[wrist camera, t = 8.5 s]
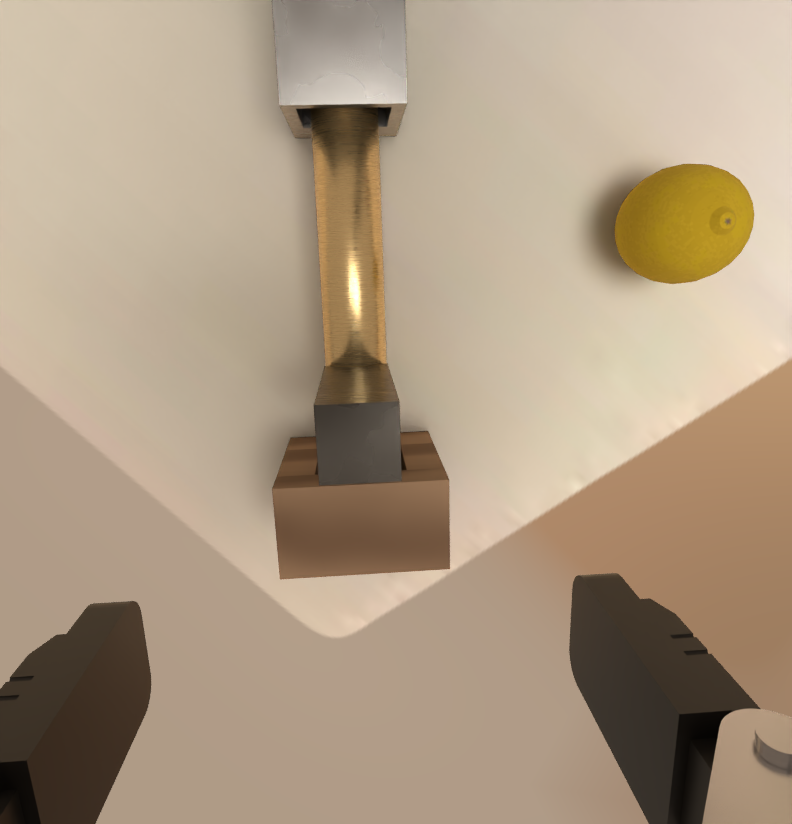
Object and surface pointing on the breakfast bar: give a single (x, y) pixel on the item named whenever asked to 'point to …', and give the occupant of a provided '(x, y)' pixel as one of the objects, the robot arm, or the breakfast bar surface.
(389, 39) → the sleeve
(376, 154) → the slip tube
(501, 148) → the breakfast bar surface
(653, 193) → the lemon
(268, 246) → the breakfast bar surface
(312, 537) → the socket
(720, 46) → the breakfast bar surface
